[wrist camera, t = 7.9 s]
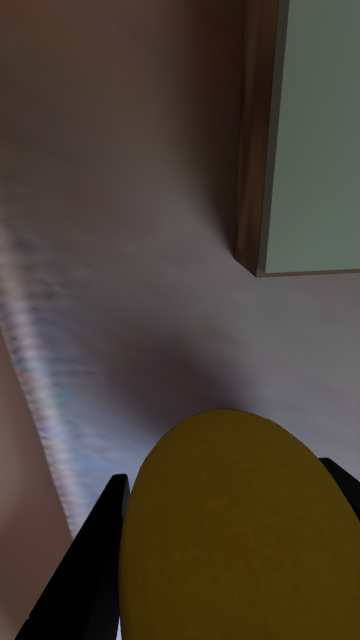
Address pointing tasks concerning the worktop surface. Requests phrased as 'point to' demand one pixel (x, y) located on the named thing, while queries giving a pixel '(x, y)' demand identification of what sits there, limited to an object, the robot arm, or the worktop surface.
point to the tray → (257, 134)
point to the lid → (313, 140)
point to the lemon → (237, 538)
